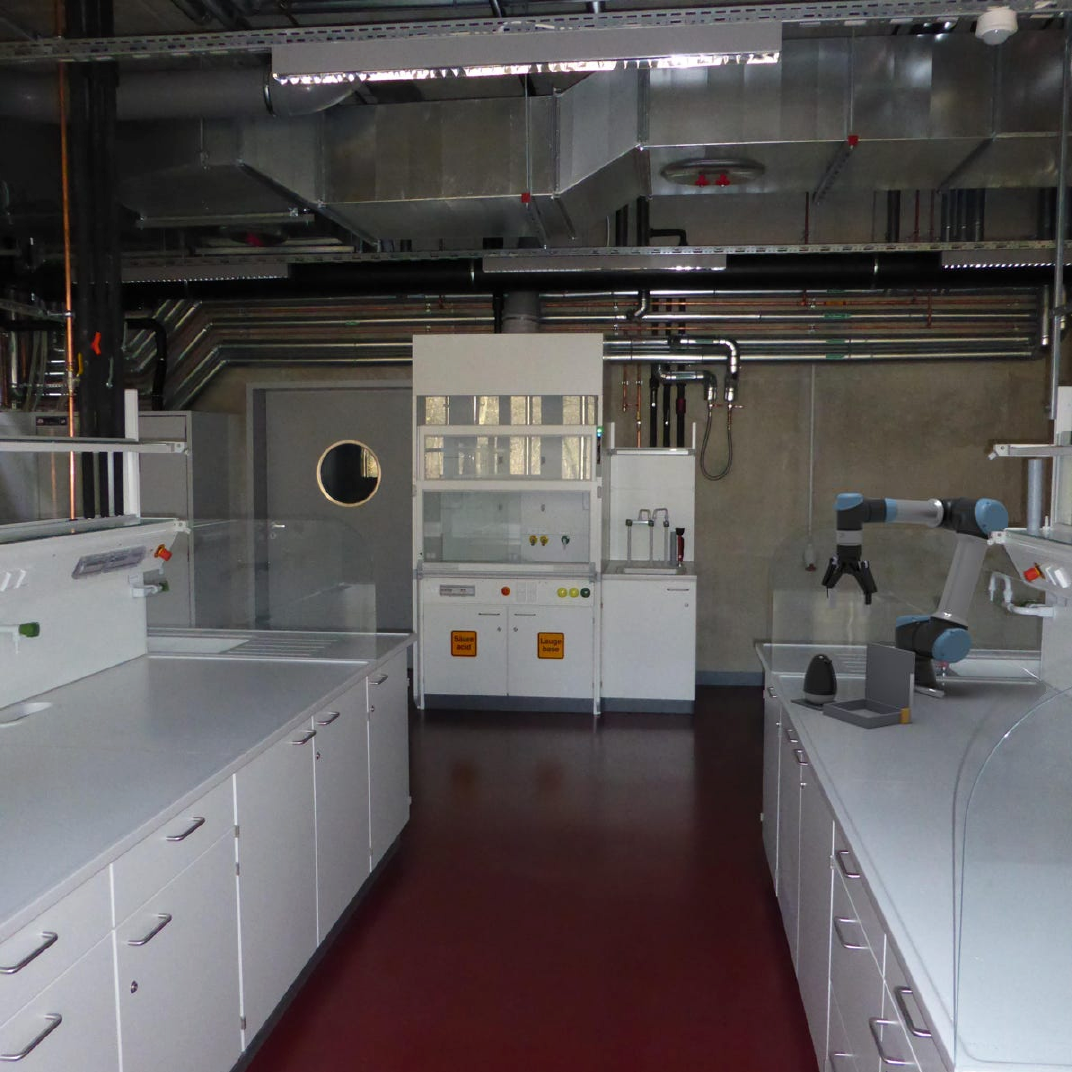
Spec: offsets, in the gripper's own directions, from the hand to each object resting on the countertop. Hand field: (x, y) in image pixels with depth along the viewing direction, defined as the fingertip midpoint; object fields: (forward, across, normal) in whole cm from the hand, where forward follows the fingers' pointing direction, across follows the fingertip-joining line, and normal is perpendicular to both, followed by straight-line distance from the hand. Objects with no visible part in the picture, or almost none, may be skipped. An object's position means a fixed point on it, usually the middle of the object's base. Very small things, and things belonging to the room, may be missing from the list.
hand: (848, 612), depth 296 cm
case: (+28, +17, -11) cm, 34 cm away
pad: (+27, 0, -12) cm, 30 cm away
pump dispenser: (+27, 0, -12) cm, 30 cm away
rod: (+28, +6, +28) cm, 40 cm away
